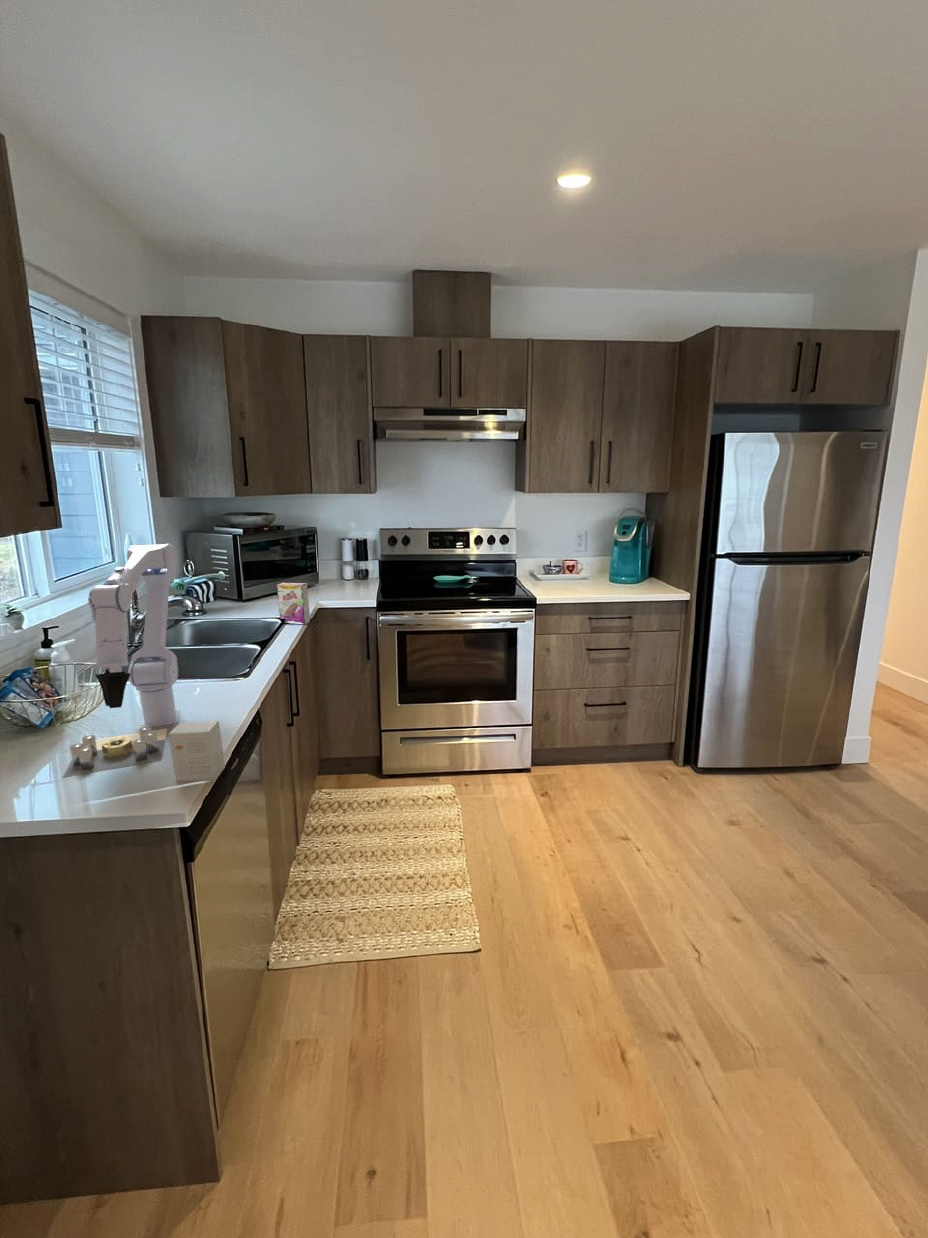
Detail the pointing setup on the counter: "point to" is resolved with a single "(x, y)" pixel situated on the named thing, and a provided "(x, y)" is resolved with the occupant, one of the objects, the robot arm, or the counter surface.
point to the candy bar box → (294, 602)
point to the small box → (197, 751)
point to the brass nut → (117, 748)
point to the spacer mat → (129, 760)
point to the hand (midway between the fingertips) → (113, 706)
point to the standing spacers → (88, 749)
